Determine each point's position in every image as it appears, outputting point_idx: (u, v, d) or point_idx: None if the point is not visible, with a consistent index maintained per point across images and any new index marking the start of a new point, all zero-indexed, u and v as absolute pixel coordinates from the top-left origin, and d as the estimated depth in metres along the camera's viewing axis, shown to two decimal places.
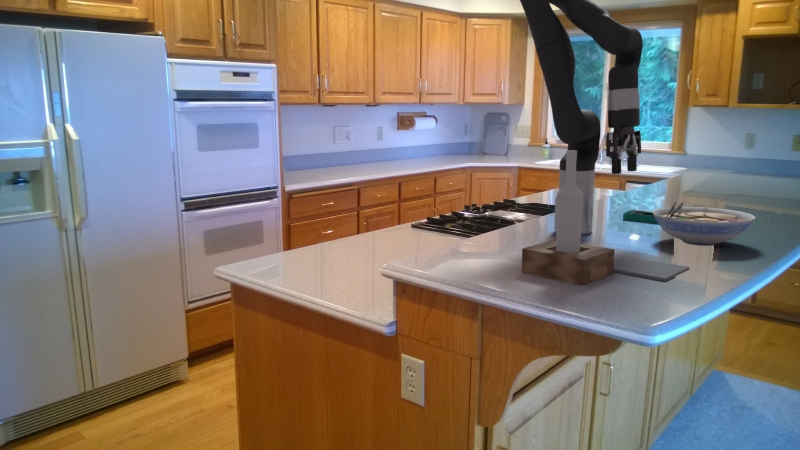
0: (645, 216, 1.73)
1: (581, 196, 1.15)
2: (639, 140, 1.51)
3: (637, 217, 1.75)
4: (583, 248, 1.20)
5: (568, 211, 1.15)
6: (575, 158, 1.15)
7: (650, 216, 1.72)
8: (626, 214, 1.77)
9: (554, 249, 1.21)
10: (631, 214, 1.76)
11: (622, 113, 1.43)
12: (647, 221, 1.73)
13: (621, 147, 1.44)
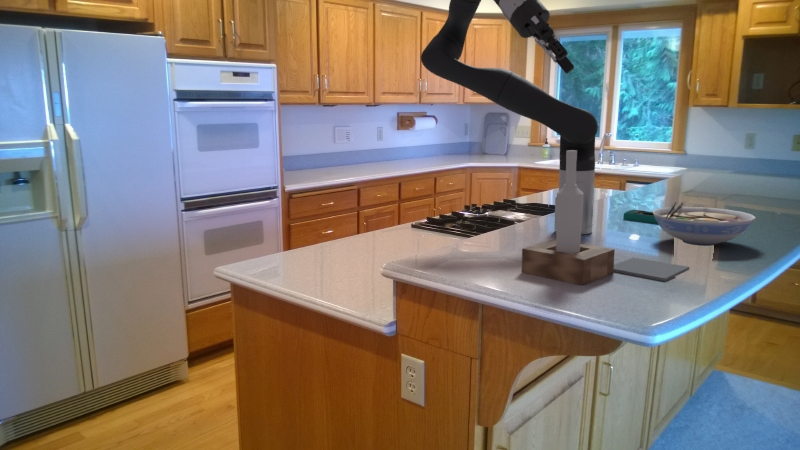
0: (644, 216, 1.73)
1: (581, 196, 1.15)
2: None
3: (636, 216, 1.75)
4: (583, 248, 1.20)
5: (568, 211, 1.15)
6: (575, 158, 1.15)
7: (649, 216, 1.72)
8: (626, 214, 1.78)
9: (554, 249, 1.21)
10: (631, 214, 1.77)
11: (528, 3, 1.23)
12: (646, 221, 1.73)
13: None
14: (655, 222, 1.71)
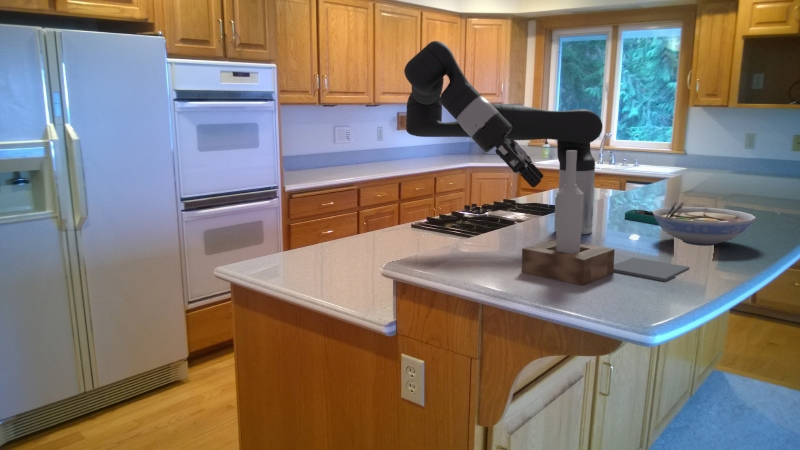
0: (643, 216, 1.74)
1: (581, 196, 1.15)
2: None
3: (636, 216, 1.76)
4: (583, 248, 1.20)
5: (568, 211, 1.15)
6: (575, 158, 1.15)
7: (647, 216, 1.72)
8: (627, 213, 1.79)
9: (554, 249, 1.21)
10: (631, 213, 1.77)
11: (491, 124, 1.14)
12: (644, 221, 1.73)
13: (519, 155, 1.14)
14: (652, 222, 1.71)
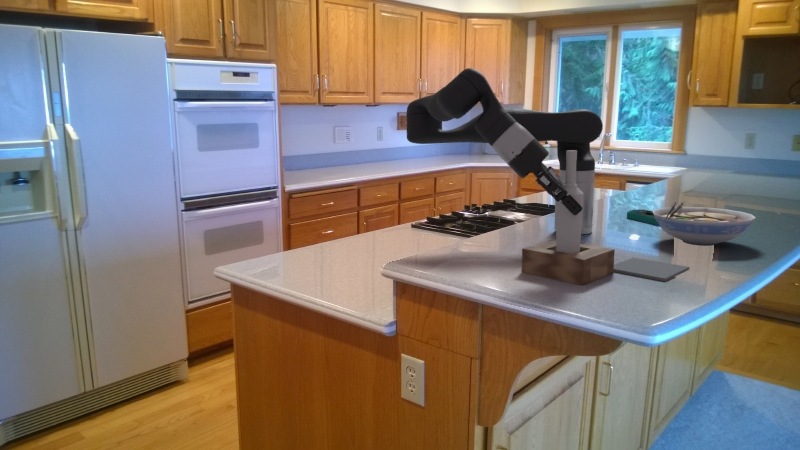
0: (642, 215, 1.74)
1: (581, 196, 1.15)
2: None
3: (636, 216, 1.76)
4: (583, 248, 1.20)
5: (568, 211, 1.15)
6: (575, 158, 1.15)
7: (645, 216, 1.73)
8: (629, 212, 1.80)
9: (554, 249, 1.21)
10: (632, 213, 1.78)
11: (528, 151, 1.14)
12: (643, 220, 1.74)
13: (559, 183, 1.14)
14: (649, 222, 1.71)
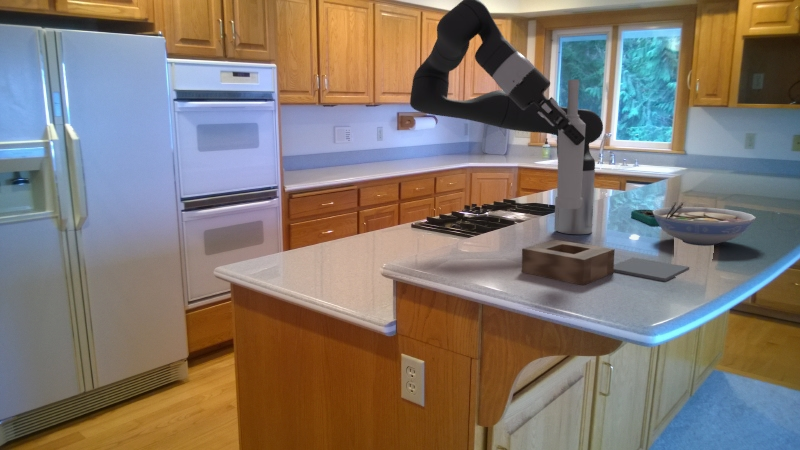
0: (641, 215, 1.75)
1: (583, 126, 1.13)
2: None
3: (637, 215, 1.77)
4: (583, 248, 1.20)
5: (569, 142, 1.13)
6: (577, 87, 1.12)
7: (643, 215, 1.73)
8: (632, 212, 1.81)
9: (554, 249, 1.21)
10: (635, 212, 1.79)
11: (529, 79, 1.12)
12: (641, 220, 1.74)
13: (561, 113, 1.11)
14: (645, 221, 1.72)
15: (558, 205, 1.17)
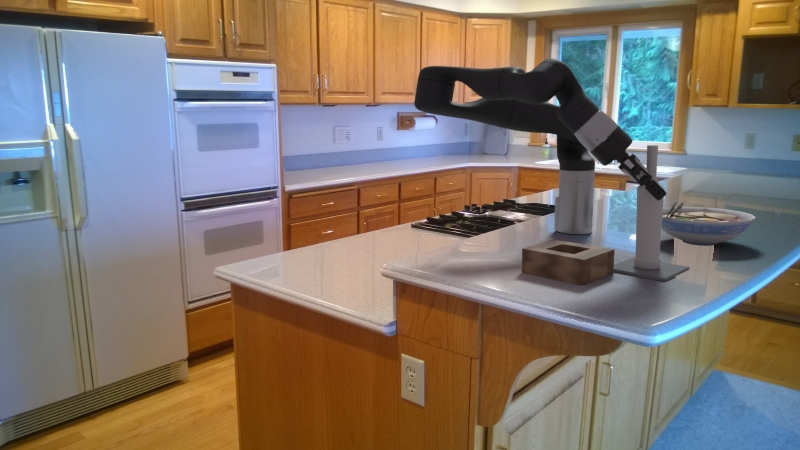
0: None
1: None
2: None
3: None
4: (583, 248, 1.20)
5: (650, 205, 1.16)
6: (657, 153, 1.16)
7: None
8: None
9: (554, 249, 1.21)
10: None
11: (613, 138, 1.15)
12: None
13: (643, 168, 1.14)
14: None
15: (637, 265, 1.20)
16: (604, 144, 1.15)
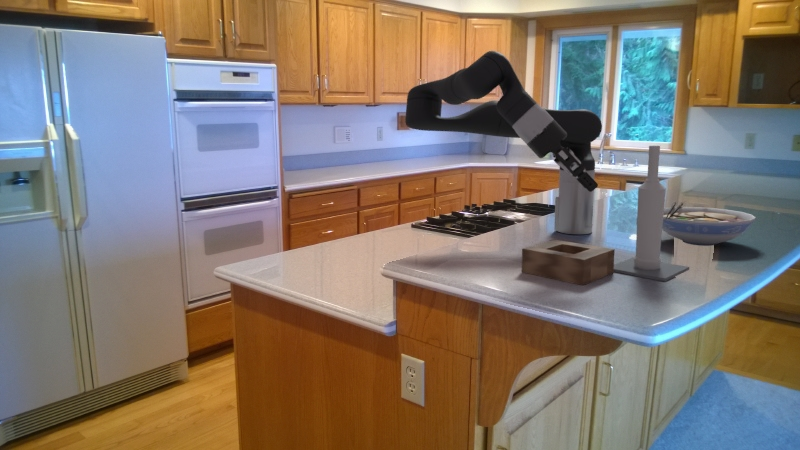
0: None
1: (664, 191, 1.16)
2: None
3: None
4: (583, 248, 1.20)
5: (651, 206, 1.16)
6: (658, 153, 1.16)
7: None
8: None
9: (554, 249, 1.21)
10: None
11: (549, 130, 1.18)
12: None
13: (576, 161, 1.18)
14: None
15: (637, 265, 1.20)
16: (540, 136, 1.19)
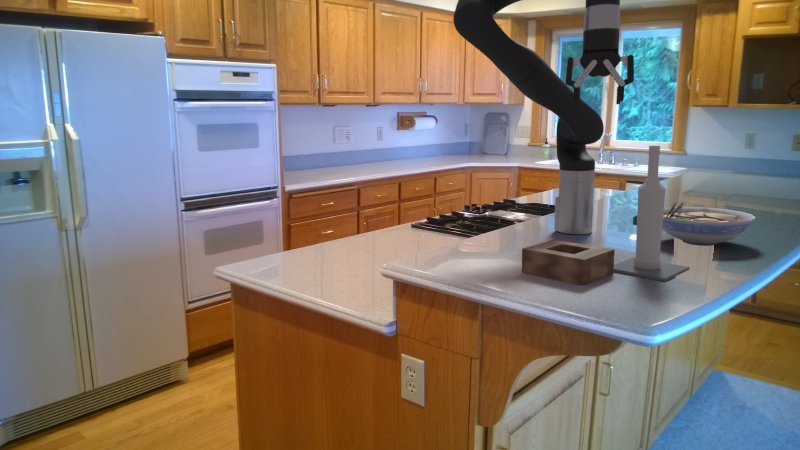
0: None
1: (664, 191, 1.16)
2: None
3: None
4: (583, 248, 1.20)
5: (651, 206, 1.16)
6: (658, 153, 1.16)
7: None
8: None
9: (554, 249, 1.21)
10: None
11: None
12: None
13: None
14: None
15: (637, 265, 1.20)
16: None
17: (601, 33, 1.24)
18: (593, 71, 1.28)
